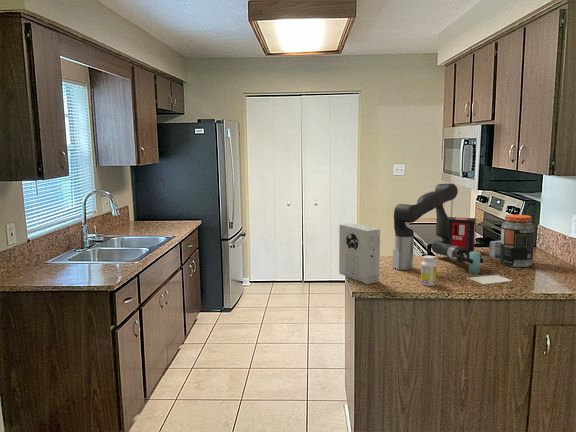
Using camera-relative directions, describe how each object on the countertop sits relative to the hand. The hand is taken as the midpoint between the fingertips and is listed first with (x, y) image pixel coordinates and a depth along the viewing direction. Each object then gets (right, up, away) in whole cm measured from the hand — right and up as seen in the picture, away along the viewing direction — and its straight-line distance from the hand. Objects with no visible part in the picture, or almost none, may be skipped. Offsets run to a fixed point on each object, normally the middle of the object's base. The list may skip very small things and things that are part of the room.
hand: (477, 261), depth 232 cm
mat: (+2, -8, -10) cm, 13 cm away
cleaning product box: (+8, +1, +47) cm, 48 cm away
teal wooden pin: (0, -6, +3) cm, 6 cm away
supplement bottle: (-29, -9, -16) cm, 34 cm away
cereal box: (-59, -8, -5) cm, 60 cm away
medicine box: (+26, -1, +36) cm, 44 cm away
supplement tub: (+27, -3, +18) cm, 33 cm away
